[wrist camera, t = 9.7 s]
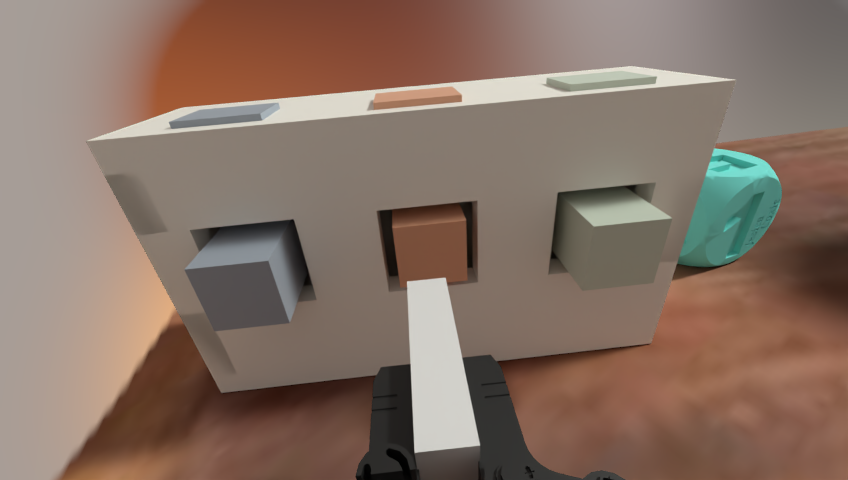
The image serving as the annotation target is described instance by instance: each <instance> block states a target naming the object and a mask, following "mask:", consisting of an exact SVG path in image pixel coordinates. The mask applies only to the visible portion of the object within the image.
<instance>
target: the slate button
mask: <svg viewBox="0 0 848 480" xmlns="http://www.w3.org/2000/svg"><path fill="white" fill-rule="evenodd" d="M184 270H185V272H186V274H187V276H188V278H189V281H190V283H191V285H192V287H193V289H194V291H195V293H196V295H197V297H198V299H199V301H200V303H201V305H202V307H203V309H204V311H205V313H206V315H207V317H208V319H209V321H210V323H211V325H212V327H213V330H214V331H223V330H232V329H241V328H250V327H259V326H268V325H277V324H286V323H290V321H291V318H292V315H293V313H294V310H295V307H296V304H297V301H298V298H299V296H300V293H301V290H302V287H303V284H304V282H305V279H306V276H307V273H308V267H307V264H306V260H305V257H304V253H303V250H302V246H301V243H300V239H299V236H298V232H297V228H296V225H295V221H294V219H291V220H282V221H272V222H262V223H252V224H242V225H232V226H223V227H221V228H220V230H219V231H218V232H217V233H216V234H215V235H214V236H213V238H212V239H211V240H210V241H209V242H208V243H207V244H206V245H205V247H204V248H203V249H202V250H201V251H200V252H199V253H198V254H197V256H196V257H195V258H194V259H193V260H192V261H191V262H190V264H189V265H188V266H187V267H186V268H185V269H184Z"/></svg>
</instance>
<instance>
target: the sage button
mask: <svg viewBox="0 0 848 480" xmlns="http://www.w3.org/2000/svg"><path fill="white" fill-rule="evenodd" d="M671 222H672V218H671V217H670V216H668V215H667V214H665V213H664V212H662V211H661V210H659V209H658V208H656V207H655V206H653V205H652V204H650V203H648V202H647V201H645V200H644V199H642V198H641V197H639V196H638V195H636V194H635V193H633V192H632V191H630V190H629V189H627V188H626V187H624V186H615V187H605V188H595V189H585V190H576V191H566V192H558V194H557V203H556V212H555V221H554V229H553V238H552V247H551V249H552V251H553V252H554V253H555V255H556V256H557V257H558V259H559V260H560V261H561V263H562V264H563V265H564V267H565V268H566V269H567V271H568V272H569V273H570V275H571V276H572V277H573V279H574V280H575V282H576V283H577V284H578V286H579V287H580V288H581V290H582V291H586V290H595V289H604V288H613V287H622V286H631V285H640V284H649V283H654V280H655V276H656V273H657V269H658V266H659V263H660V259H661V256H662V252H663V249H664V246H665V242H666V239H667V235H668V232H669V229H670V225H671Z"/></svg>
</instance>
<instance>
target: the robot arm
mask: <svg viewBox="0 0 848 480" xmlns="http://www.w3.org/2000/svg"><path fill="white" fill-rule="evenodd" d="M407 296H408V318H409V341H410V363H411V364H405V365H396V366H386V367H381V368H380V370H379V372H378V374H377V376H376V377H375V379H374V382H373V400H372V413H371V429H370V444H369V452H367V453H366V454H365V456H364V457H363V459H362V460H361V462H360V463H359V465H358V469H357V473H356V479H357V480H625V479H623V478H621V477H620V476H618V475H616V474H615V473H611V472H607V471H595V472H591V473H590V474H588V475H587V476H586V477H584V478H583V479H581V478H577V477H573V476H568V475H564V474H560V473H557V472H554V471H551V470H549V469H547V468H546V467H544V466H542V465H541V464H540V463H539V462H538V461H536V460H535V459H534V458H533V456H532V455H531V454H530V452H529V451H528V449H527V446H526V444H525V441H524V438H523V435H522V432H521V429H520V426H519V422H518V419H517V416H516V413H515V410H514V407H513V403H512V400H511V397H510V395H509V391H508V388H507V385H506V381H505V378H504V375H503V372H502V369H501V366H500V365H499V364H498V363H497V362H496V360H495V359H494V358H493V357H492V356H491V355H481V356H472V357H462V355H461V350H460V345H459V340H458V335H457V330H456V326H455V321H454V316H453V311H452V306H451V301H450V296H449V292H448V287H447V282H446V278H437V279H427V280H417V281H407Z"/></svg>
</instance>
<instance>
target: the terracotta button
mask: <svg viewBox="0 0 848 480" xmlns="http://www.w3.org/2000/svg"><path fill="white" fill-rule="evenodd" d="M392 230H393V237H394V244H395V252H396V259H397V266H398V274H399V281H400V288H403V287H407V281H417V280H427V279H437V278H446V282H447V283H449V282H458V281H467V234H466V219H465V216H464V214H463V211H462V209H461V206H460V204H459V202H458V203H448V204H438V205H429V206H419V207H409V208H399V209H392Z"/></svg>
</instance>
